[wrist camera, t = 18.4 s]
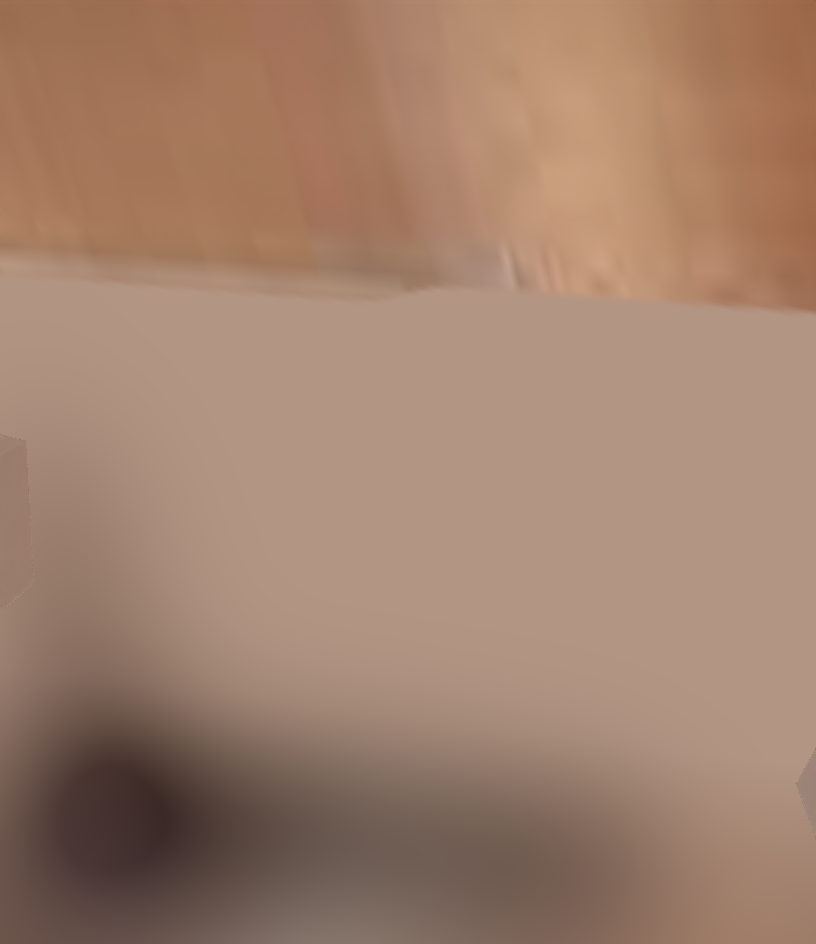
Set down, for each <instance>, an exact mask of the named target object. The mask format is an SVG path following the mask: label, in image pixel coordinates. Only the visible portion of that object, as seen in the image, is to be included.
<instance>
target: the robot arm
mask: <svg viewBox="0 0 816 944" xmlns="http://www.w3.org/2000/svg"><path fill="white" fill-rule="evenodd" d="M32 584H33V564H32V545H31V526H30V506H29V487H28V467H27V448H26V441H24V440H21V439H16V438H12V437H8V436H4V435H0V612H1V611H2V610H4V609H5V608H6V607H7V606H8V605H9V604H10V603H12V602H13V601H14V600H15V599H16V598H17V597H18V596H19V595H21V594H22V593H23V592H24V591H25V590H26V589H27V588H29V587H30V586H31V585H32ZM796 785H797V788H798V791H799V794H800V797H801V800H802V803H803V805H804V808H805V811H806V814H807V817H808V820H809V822H810V825H811V828H812V831H813V834H814V837H815V839H816V749H815V750H814V752H813V754H812V756H811V758H810V759H809V761H808V763H807V765H806V766H805V768H804V770H803V772H802V774H801V775H800V777H799V779H798V781H797V783H796Z"/></svg>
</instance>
